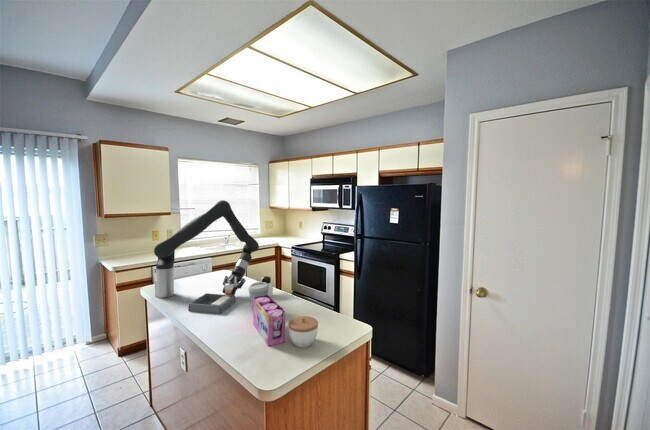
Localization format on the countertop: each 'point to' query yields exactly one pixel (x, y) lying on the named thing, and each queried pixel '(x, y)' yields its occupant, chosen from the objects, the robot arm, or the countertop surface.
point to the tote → (205, 303)
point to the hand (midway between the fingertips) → (227, 293)
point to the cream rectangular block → (221, 300)
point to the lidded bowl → (303, 330)
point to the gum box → (269, 319)
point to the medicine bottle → (268, 281)
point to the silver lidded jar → (229, 288)
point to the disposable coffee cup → (258, 290)
